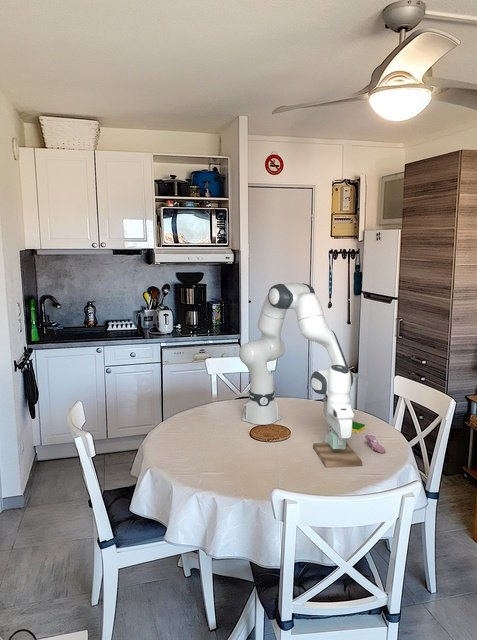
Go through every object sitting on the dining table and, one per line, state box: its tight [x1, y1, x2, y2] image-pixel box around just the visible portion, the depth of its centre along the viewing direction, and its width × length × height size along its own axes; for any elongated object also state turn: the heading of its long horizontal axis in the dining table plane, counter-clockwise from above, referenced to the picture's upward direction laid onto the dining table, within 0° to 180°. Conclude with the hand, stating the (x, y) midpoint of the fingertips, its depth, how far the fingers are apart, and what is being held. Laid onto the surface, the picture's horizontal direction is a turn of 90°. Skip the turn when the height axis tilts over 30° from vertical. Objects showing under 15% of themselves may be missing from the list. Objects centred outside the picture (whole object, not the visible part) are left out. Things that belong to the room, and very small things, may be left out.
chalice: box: [322, 396, 332, 443], centre depth 204 cm, size 7×7×18 cm
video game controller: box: [364, 433, 386, 454], centre depth 197 cm, size 10×5×7 cm, turn 7°
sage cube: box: [328, 431, 347, 449], centre depth 189 cm, size 5×5×5 cm
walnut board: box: [312, 441, 363, 469], centre depth 190 cm, size 18×14×2 cm
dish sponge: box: [352, 420, 366, 434], centre depth 221 cm, size 7×14×2 cm, turn 51°
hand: (337, 441), depth 189 cm, fingers closed on sage cube, 5 cm apart
